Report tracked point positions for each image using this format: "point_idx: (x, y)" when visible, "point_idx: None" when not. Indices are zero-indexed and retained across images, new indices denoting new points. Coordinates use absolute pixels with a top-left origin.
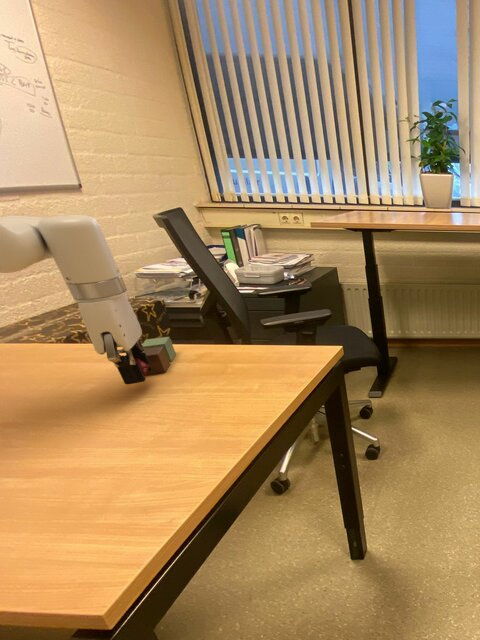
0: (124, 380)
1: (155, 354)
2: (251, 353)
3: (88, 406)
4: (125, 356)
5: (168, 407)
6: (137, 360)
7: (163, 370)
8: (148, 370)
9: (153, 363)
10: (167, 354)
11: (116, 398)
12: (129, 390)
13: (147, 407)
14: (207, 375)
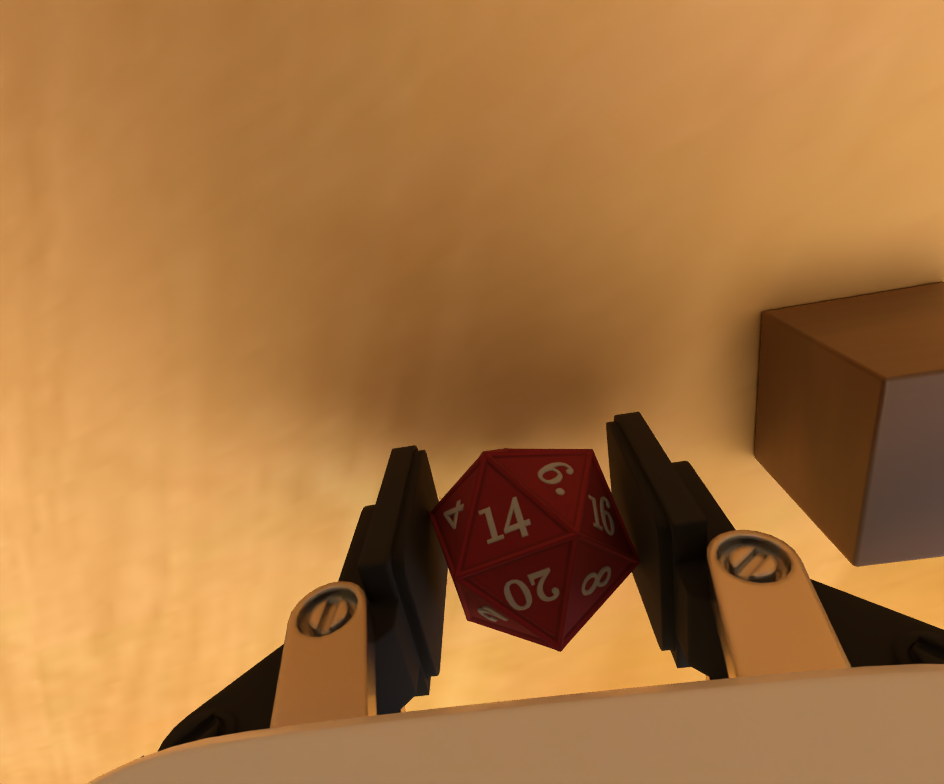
0: (391, 468)
1: (858, 552)
2: None
3: (301, 155)
4: (669, 524)
5: (253, 616)
6: (534, 637)
7: (763, 462)
8: None
9: (805, 465)
10: None
11: (404, 304)
12: (518, 336)
13: (260, 530)
14: (605, 670)
